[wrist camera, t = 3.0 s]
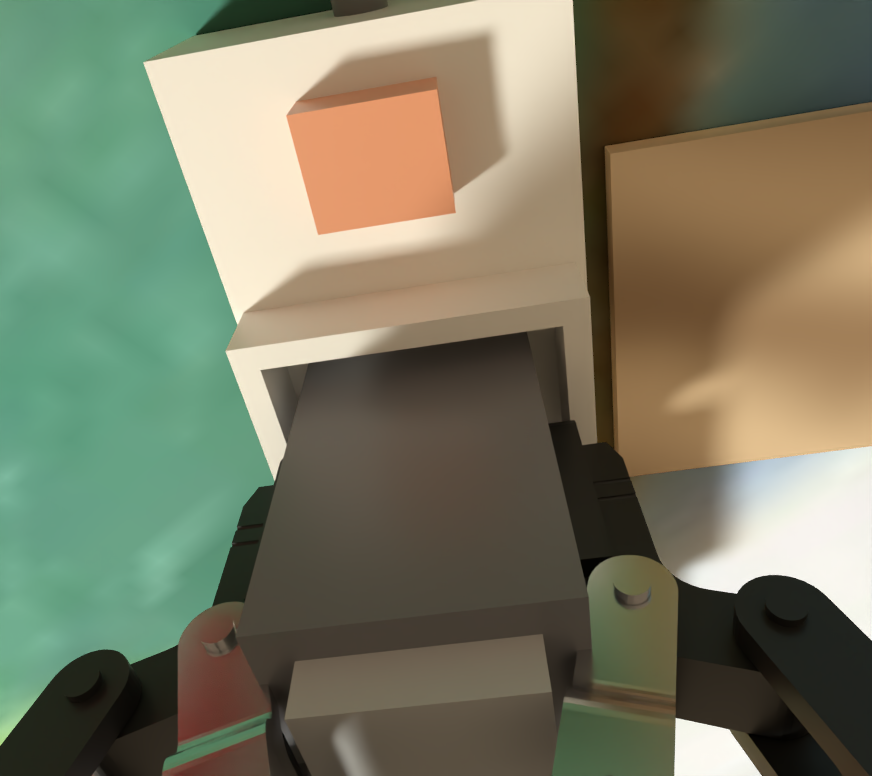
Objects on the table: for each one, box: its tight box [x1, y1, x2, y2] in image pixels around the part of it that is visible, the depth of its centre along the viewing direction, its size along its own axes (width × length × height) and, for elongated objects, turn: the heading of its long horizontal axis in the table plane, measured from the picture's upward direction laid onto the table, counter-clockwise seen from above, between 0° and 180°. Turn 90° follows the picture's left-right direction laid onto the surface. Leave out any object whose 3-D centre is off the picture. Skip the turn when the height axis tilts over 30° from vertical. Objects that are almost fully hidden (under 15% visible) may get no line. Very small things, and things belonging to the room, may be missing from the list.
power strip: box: [143, 0, 597, 480], centre depth 16 cm, size 24×7×4 cm, turn 10°
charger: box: [236, 331, 592, 776], centre depth 13 cm, size 4×4×8 cm
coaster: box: [605, 102, 872, 477], centre depth 17 cm, size 9×9×1 cm
